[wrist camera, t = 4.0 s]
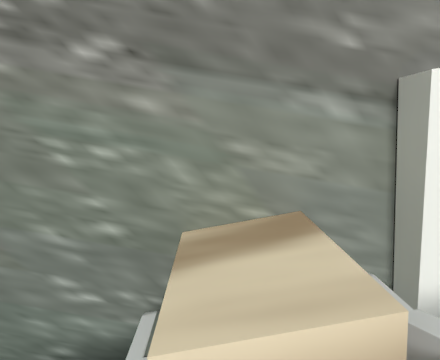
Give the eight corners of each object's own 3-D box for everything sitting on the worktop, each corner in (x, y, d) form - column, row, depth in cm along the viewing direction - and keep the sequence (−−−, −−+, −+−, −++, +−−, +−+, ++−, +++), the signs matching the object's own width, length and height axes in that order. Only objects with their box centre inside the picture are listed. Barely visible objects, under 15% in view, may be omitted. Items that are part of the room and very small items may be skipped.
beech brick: (182, 232, 9) (147, 357, 4) (300, 211, 9) (408, 311, 4) (205, 327, 10) (199, 511, 5) (309, 308, 10) (401, 477, 5)
